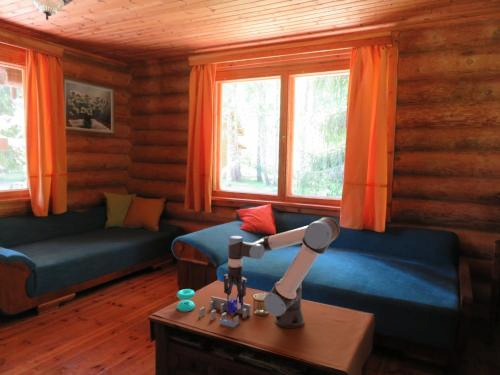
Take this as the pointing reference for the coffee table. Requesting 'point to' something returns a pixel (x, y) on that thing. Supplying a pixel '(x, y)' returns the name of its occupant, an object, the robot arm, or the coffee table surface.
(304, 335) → the coffee table surface
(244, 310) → the grey peg rack
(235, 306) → the blue curved block
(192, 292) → the donuts
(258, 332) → the coffee table surface
